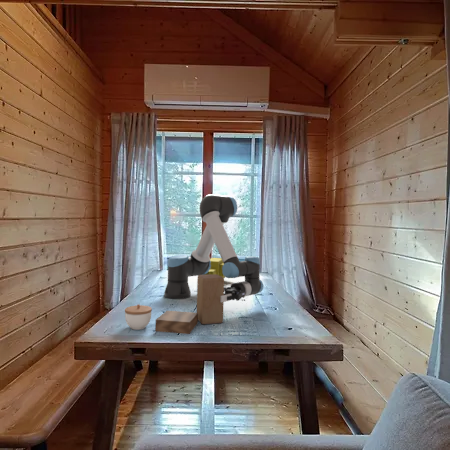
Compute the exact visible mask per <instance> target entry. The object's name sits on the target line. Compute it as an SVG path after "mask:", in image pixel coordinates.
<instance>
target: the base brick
mask: <svg viewBox="0 0 450 450" xmlns="http://www.w3.org/2000/svg"><path fill="white" fill-rule="evenodd" d="M198 321H199V320H198V313H197V312H195V311H194V312H191V311H178V310H166V311H165V312H163V313H162V314H161V315H159V316H158V317H157V318H156V319H155V328H154V330H155V332H162V333H171V334H172V333H173V334H187V335H190V334H191V333H192V331H193V330H194V329H195V328H196V326H198V324H199V322H198Z"/></svg>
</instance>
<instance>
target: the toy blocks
mask: <svg viewBox="0 0 450 450" xmlns="http://www.w3.org/2000/svg"><path fill="white" fill-rule="evenodd" d="M210 261H211V263H210V265H211V267H210V270H209V271H208V273H206V274H204V275H211V274H217V275H219V276H221V277H223V278H224V279H225V278H226V277H225V276H224V275H223V272H222V271H223V270H222V267H223V265H224V263H223V260H222V258H221V257H210Z"/></svg>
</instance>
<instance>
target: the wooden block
mask: <svg viewBox="0 0 450 450" xmlns="http://www.w3.org/2000/svg"><path fill="white" fill-rule="evenodd" d="M196 285H197V287H196V288H197V289H196V313H198V321H199V323H200V324H201V325H212V324H222V323H223V322H224V304H225V302H220V300H221V296H222V295H224V294H225V291H224V287H225V278H223V277H221V276H219V275H217V274H211V275H198V276H197V283H196Z"/></svg>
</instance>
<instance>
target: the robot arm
mask: <svg viewBox="0 0 450 450" xmlns="http://www.w3.org/2000/svg"><path fill="white" fill-rule="evenodd" d="M237 212H238V203H237V200H236V198H234V197H233V196H230V195H227V194H226V195H225V194H224V195H223V194H215V193H212V194H210V193H209V194H207V195H206V196H204V197H203V198H202V199H201V200H200V203H199V216H200V218H201V220H202V221H203V223H205V224H206V226H205V228H204V230H203V232H202V235H201V237H200V240H199V243H198V244H197V246H196V249H193V250H192V253H191V254H190V256H189V255H188V254H177V255H172V256H170V257H169V258H168V261H167V284H166V287H165V289H164V295H163V297H165V298H167V299H175V300H177V299H179V300H180V299H187V298H190V297H191V295H192V293H191V289H190V285H189V278H190V277H198V275H204V274H206V273H208V271H209V270H210V267H211V265H210V263H211V261H210V259H211V256H210V254H211V252H212V250H213V248H214V246H215V247H216V249H217V251H218V253H219V256H220V258H222V260H223V263H224V265H223V267H222V270H223V271H222V272H223V275H224V276H225V278H227V279H235V278H236V279H237V278H242V277H244V280H242V281H237V282H234V283H232V284H230V286H227V287H226V286H224V295H222V296H221V300H220V302H224V303H225V302H229V301H235V300H236V301H240V300H242V298H243V299H244V298H245V297H249V296H253V295H257V294H259V293H262V291H263V290H264V283H263V281H262V280H261V279H260V267H261V264H260V263H261V261H260V257H259V256H255V255H253V256H252V255H248V256H247V255H246V256H245V258H244V260H241V261H240V259H239V257H238V255H237V254H236V251H235V248H234V246H233V245H232V242H231V240H230V238H229V235H228V233H227V231H226V228H225V227H224V224H227V223H228V221H229V220H230V218H231V217H234V216H235V215H236V214H237Z"/></svg>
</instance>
